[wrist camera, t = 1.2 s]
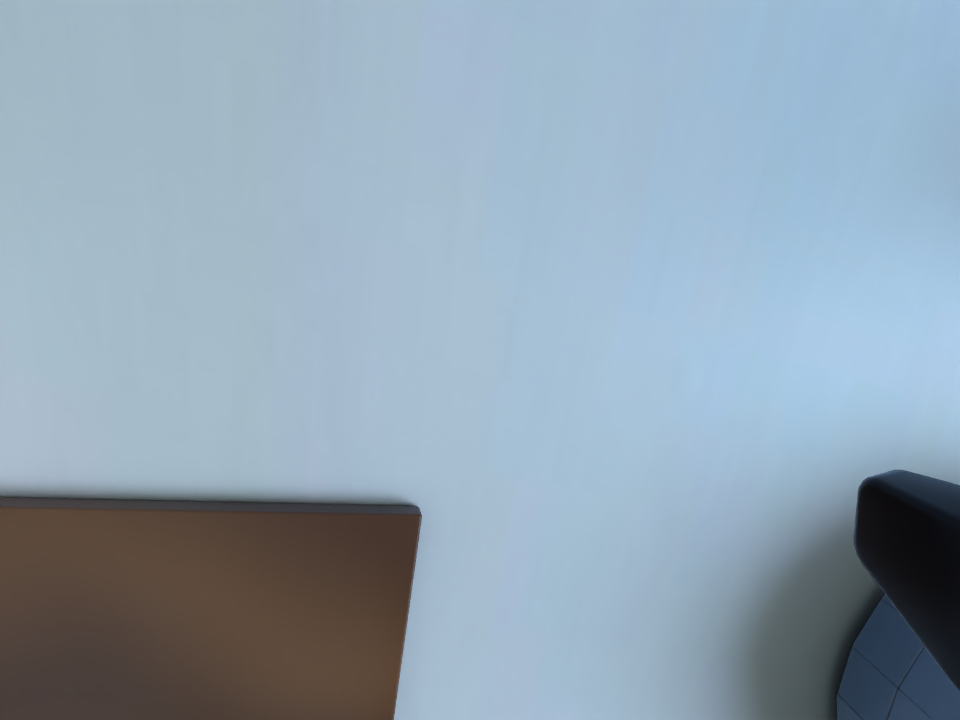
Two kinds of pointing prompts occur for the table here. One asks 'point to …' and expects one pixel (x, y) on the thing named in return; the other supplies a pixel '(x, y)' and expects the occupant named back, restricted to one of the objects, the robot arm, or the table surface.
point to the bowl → (894, 675)
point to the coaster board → (202, 609)
